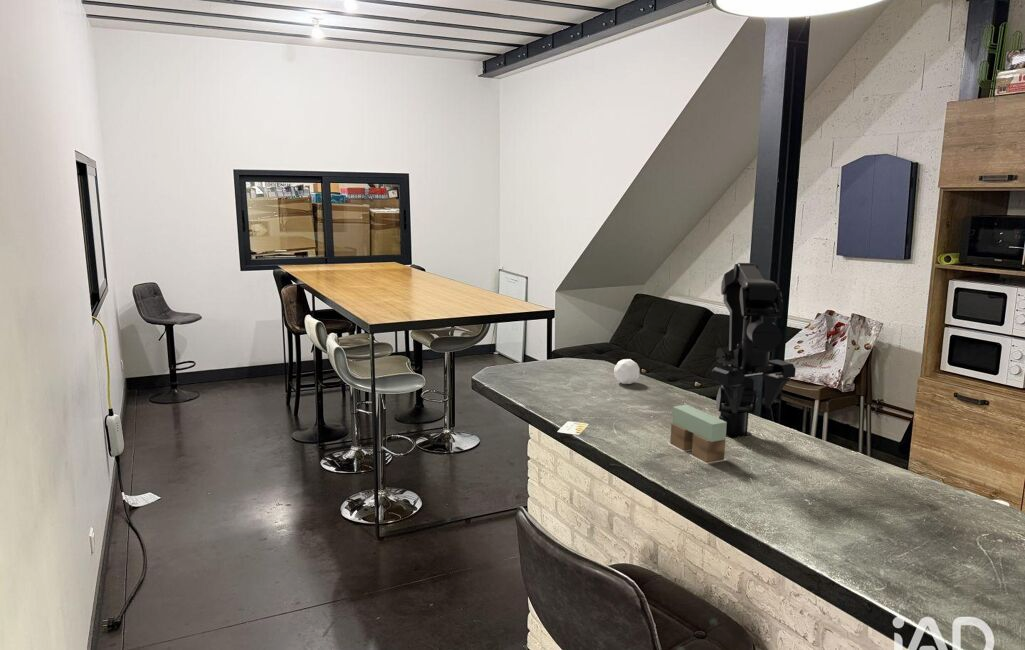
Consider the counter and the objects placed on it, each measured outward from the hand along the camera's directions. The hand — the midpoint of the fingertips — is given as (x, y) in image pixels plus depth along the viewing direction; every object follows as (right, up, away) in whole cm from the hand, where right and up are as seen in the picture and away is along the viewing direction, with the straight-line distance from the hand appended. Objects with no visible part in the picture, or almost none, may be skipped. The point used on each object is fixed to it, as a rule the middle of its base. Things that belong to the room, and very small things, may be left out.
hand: (751, 410), depth 151 cm
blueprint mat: (-10, -11, +9) cm, 17 cm away
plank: (-9, -6, +8) cm, 14 cm away
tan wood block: (-8, -11, +5) cm, 15 cm away
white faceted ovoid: (-16, 0, +69) cm, 71 cm away
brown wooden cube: (-11, -10, +12) cm, 19 cm away
